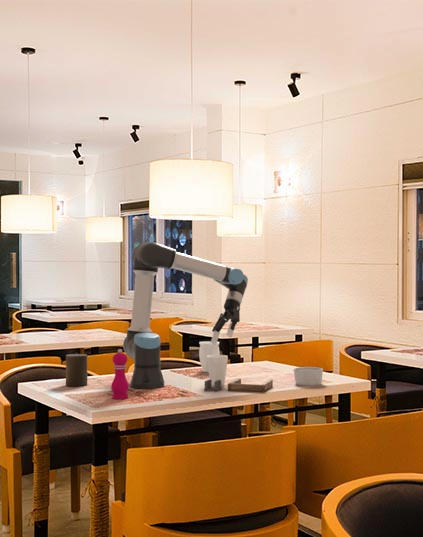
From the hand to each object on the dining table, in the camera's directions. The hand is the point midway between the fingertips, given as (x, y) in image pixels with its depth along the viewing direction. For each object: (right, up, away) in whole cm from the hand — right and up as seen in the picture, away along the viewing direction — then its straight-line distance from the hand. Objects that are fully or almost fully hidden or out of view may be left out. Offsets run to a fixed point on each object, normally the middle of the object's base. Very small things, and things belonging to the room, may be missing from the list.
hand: (220, 339), depth 352 cm
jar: (-5, -19, +32) cm, 38 cm away
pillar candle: (-65, -20, -11) cm, 69 cm away
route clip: (-4, -19, -26) cm, 33 cm away
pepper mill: (-41, -20, -46) cm, 65 cm away
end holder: (+13, -19, -23) cm, 33 cm away
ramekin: (+39, -19, -11) cm, 45 cm away
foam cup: (-2, -19, -12) cm, 23 cm away
